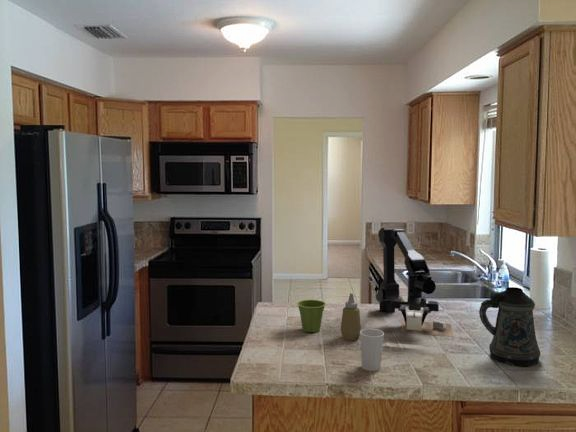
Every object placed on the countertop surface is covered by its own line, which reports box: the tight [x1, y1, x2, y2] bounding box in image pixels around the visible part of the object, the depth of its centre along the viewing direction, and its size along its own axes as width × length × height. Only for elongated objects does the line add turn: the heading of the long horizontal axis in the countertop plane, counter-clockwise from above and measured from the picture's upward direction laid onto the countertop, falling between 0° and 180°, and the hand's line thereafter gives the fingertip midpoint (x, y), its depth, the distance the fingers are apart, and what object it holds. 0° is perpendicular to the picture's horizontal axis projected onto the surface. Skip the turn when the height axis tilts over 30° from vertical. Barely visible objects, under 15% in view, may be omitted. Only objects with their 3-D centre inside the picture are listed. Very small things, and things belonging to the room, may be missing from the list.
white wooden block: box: [432, 319, 447, 331], centre depth 203 cm, size 2×4×3 cm, turn 46°
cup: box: [359, 328, 385, 372], centre depth 168 cm, size 8×8×12 cm
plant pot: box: [296, 299, 327, 333], centre depth 205 cm, size 12×12×11 cm
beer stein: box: [478, 286, 541, 368], centre depth 175 cm, size 16×19×25 cm
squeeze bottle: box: [340, 292, 362, 342], centre depth 195 cm, size 8×8×18 cm
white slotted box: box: [406, 311, 423, 330], centre depth 205 cm, size 6×8×5 cm
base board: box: [400, 319, 454, 338], centre depth 204 cm, size 20×16×2 cm
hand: (413, 325), depth 205 cm, fingers closed on white slotted box, 6 cm apart
